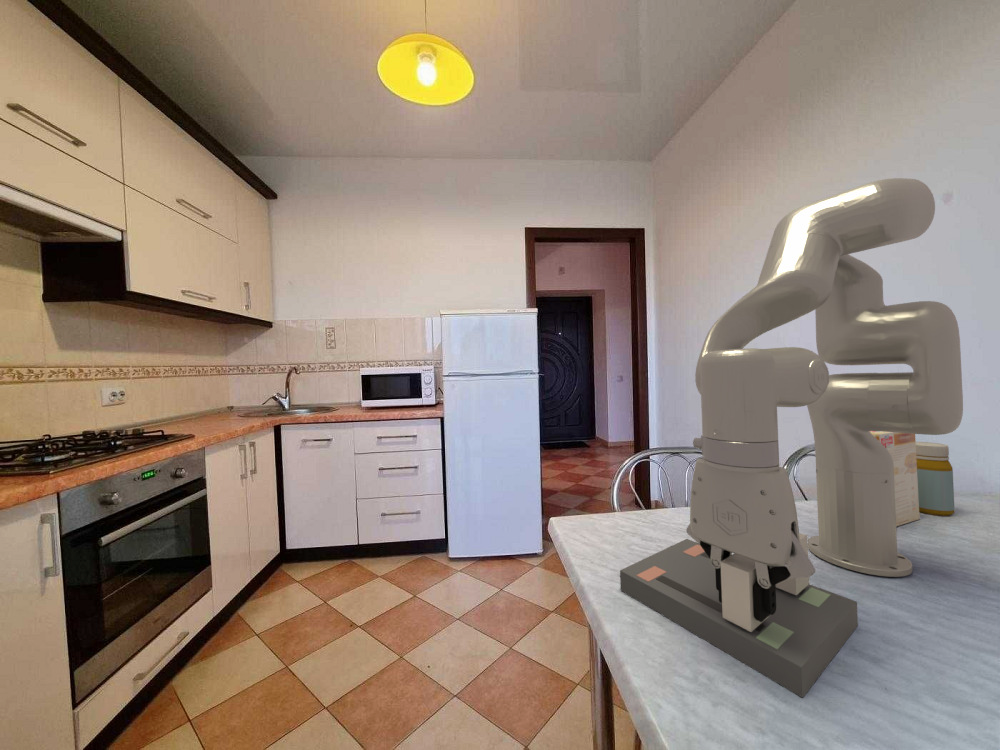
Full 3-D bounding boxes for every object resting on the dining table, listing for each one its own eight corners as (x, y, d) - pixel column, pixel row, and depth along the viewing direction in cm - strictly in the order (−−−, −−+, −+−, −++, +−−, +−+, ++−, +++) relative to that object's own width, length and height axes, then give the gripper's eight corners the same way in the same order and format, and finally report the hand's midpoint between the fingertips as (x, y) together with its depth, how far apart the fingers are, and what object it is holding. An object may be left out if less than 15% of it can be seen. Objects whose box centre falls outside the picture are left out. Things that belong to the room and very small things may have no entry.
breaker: (782, 574, 51) (780, 527, 51) (809, 583, 48) (807, 535, 48) (769, 584, 48) (767, 535, 49) (796, 595, 46) (794, 544, 46)
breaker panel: (687, 555, 63) (686, 538, 63) (857, 625, 45) (856, 601, 45) (620, 590, 54) (619, 570, 54) (802, 697, 35) (801, 666, 35)
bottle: (965, 517, 76) (962, 447, 76) (925, 516, 77) (922, 446, 77) (933, 505, 82) (930, 441, 83) (896, 504, 84) (894, 441, 84)
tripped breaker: (740, 603, 45) (738, 551, 45) (768, 616, 42) (766, 561, 42) (722, 617, 42) (720, 561, 42) (751, 632, 40) (748, 572, 40)
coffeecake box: (876, 508, 82) (873, 424, 82) (922, 519, 75) (917, 427, 75) (837, 519, 77) (833, 429, 77) (882, 532, 70) (877, 433, 70)
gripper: (657, 446, 47) (662, 585, 47) (815, 472, 33) (824, 668, 33) (689, 440, 51) (694, 568, 51) (841, 460, 37) (849, 635, 37)
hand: (745, 606), depth 42 cm, fingers closed on tripped breaker, 3 cm apart
